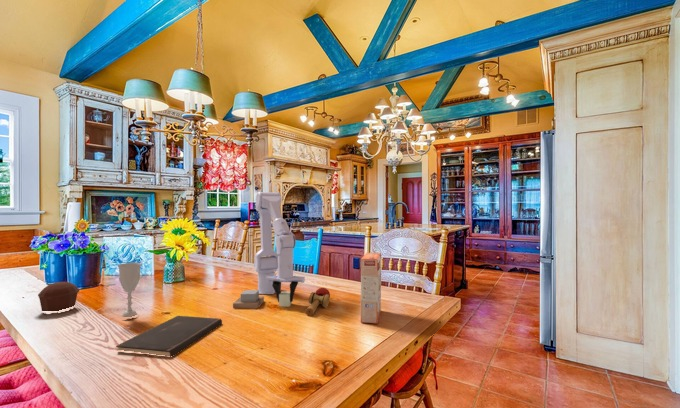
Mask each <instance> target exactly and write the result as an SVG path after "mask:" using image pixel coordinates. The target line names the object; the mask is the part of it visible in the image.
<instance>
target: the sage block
mask: <svg viewBox="0 0 680 408" xmlns="http://www.w3.org/2000/svg"><path fill="white" fill-rule="evenodd" d="M292 303H293V301H292V302H290V291H281V293H280V294H279V302H278V306H279V307H284V308H286V307H288V308H290V307H291V305H292Z"/></svg>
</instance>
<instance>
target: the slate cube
mask: <svg viewBox="0 0 680 408" xmlns="http://www.w3.org/2000/svg"><path fill="white" fill-rule="evenodd" d="M259 296H260V294H259V290H258V289H245V290H244V291H242V292H241V293H240V297H241V302H256V301H257V299H258V298H259Z"/></svg>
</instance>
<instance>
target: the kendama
mask: <svg viewBox="0 0 680 408" xmlns="http://www.w3.org/2000/svg"><path fill="white" fill-rule="evenodd" d="M330 298H331V294H330V291H329V289H327V288H325V287H320V288H318V289H316V291H311V292H310V294H309V298H308V303H309V304H310V305H309V306H308V307H307V308H306V309H305V315H307V316H308V317H312V316H314V314H315V312H316V310H317V308H318V306H319V304H320V305H321V306H322V308H328V306H329V303H330Z"/></svg>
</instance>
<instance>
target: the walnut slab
mask: <svg viewBox="0 0 680 408" xmlns="http://www.w3.org/2000/svg"><path fill="white" fill-rule="evenodd" d="M264 301H265V297H264V295H262V296H260V295H259V298H258V299H257V301H256V302H241V296H240V297H238V299H236V300H235V301H234V302H232V309H233V308H250V309H251V310H252V309H254V310H256V309H257V310H258V309H259V308H260V306H261V305H262V304H263V303H264Z"/></svg>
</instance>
